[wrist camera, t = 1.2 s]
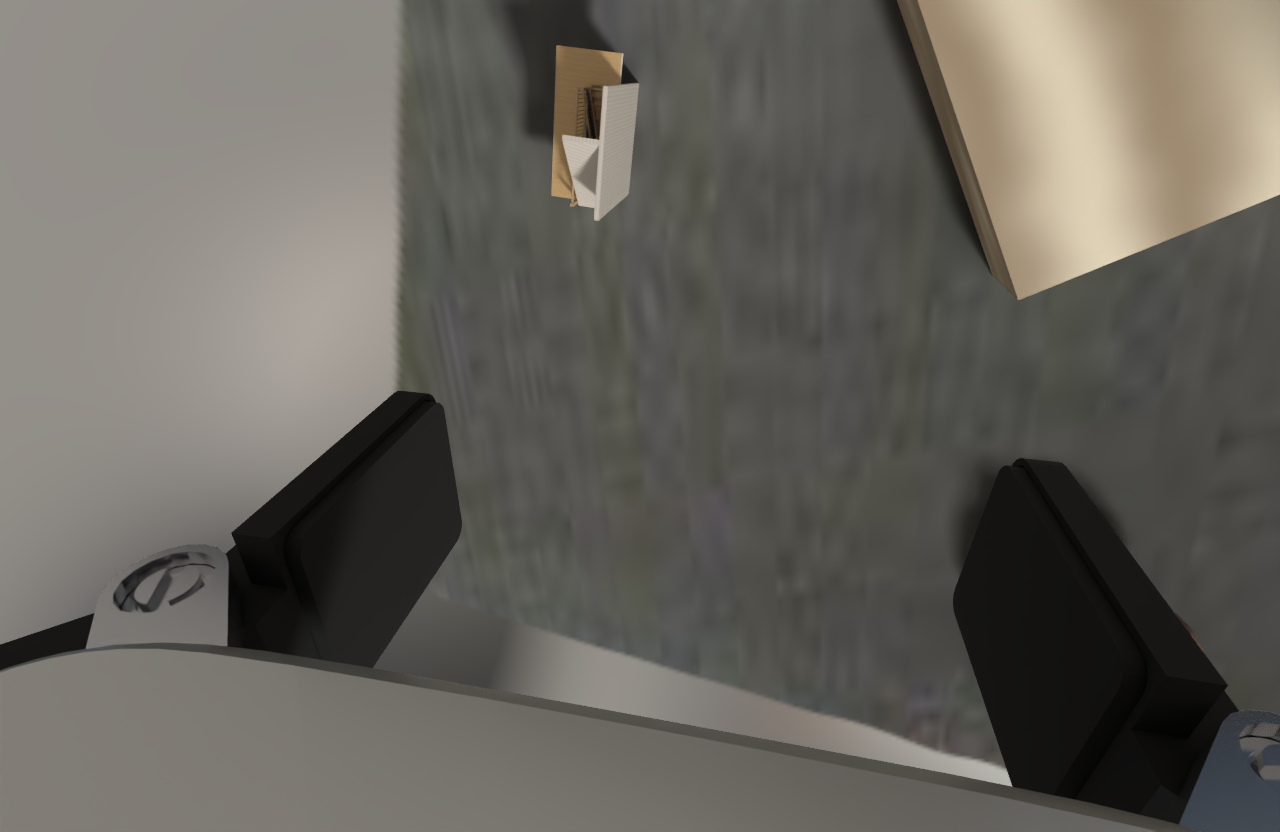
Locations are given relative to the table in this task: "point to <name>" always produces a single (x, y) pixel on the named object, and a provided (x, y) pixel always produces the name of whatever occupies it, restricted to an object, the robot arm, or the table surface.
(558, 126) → the architectural model
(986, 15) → the beige flat block
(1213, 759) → the robot arm
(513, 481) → the table surface
